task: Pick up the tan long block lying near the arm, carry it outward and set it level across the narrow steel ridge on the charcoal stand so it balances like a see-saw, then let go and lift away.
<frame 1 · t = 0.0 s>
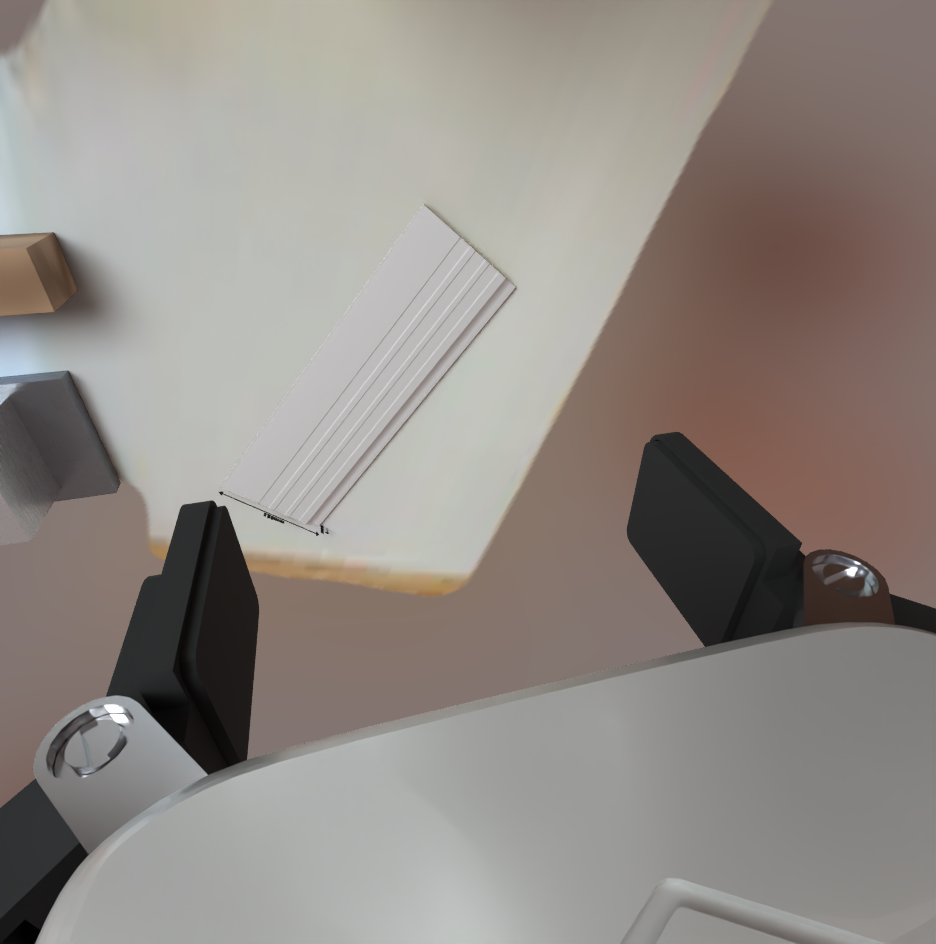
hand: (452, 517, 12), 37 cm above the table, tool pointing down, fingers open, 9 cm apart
ridge stand: (29, 438, 45), on the table
baseboard molding: (367, 388, 51), on the table
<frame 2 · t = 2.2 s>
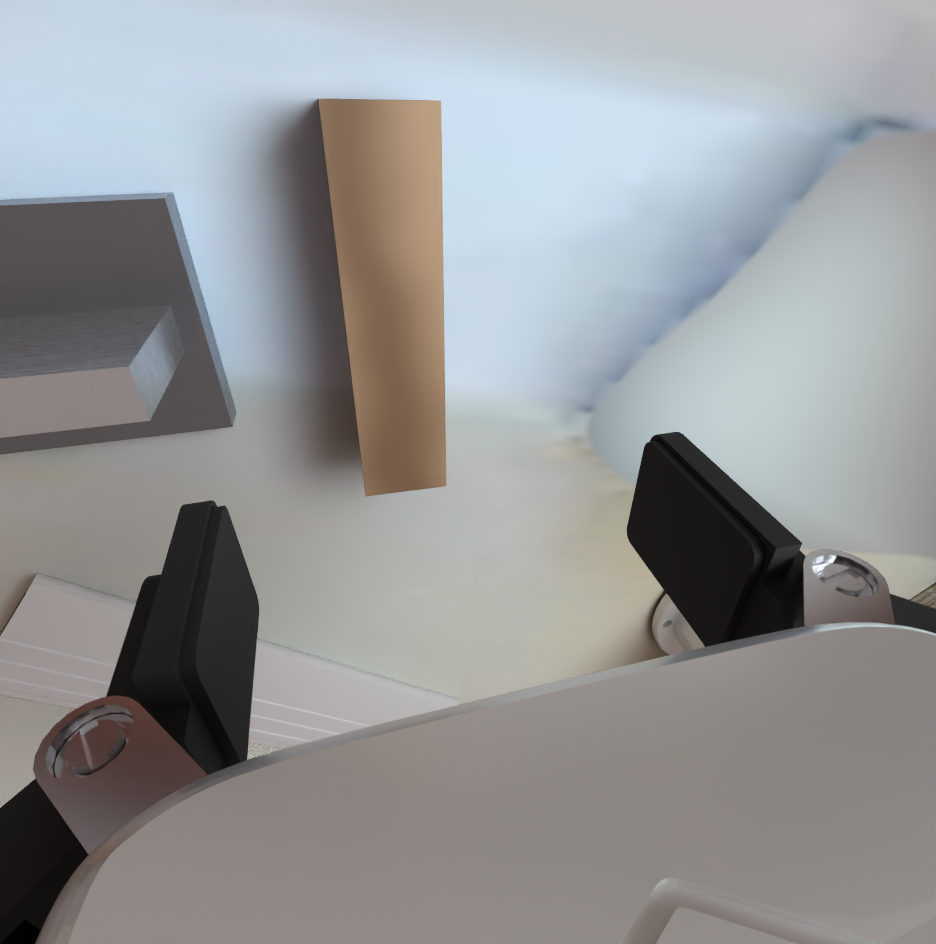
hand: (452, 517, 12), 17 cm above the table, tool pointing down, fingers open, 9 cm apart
coffee box: (931, 597, 56), on the table
tan long block: (384, 298, 26), on the table
ridge stand: (74, 326, 24), on the table
baseboard molding: (248, 687, 40), on the table
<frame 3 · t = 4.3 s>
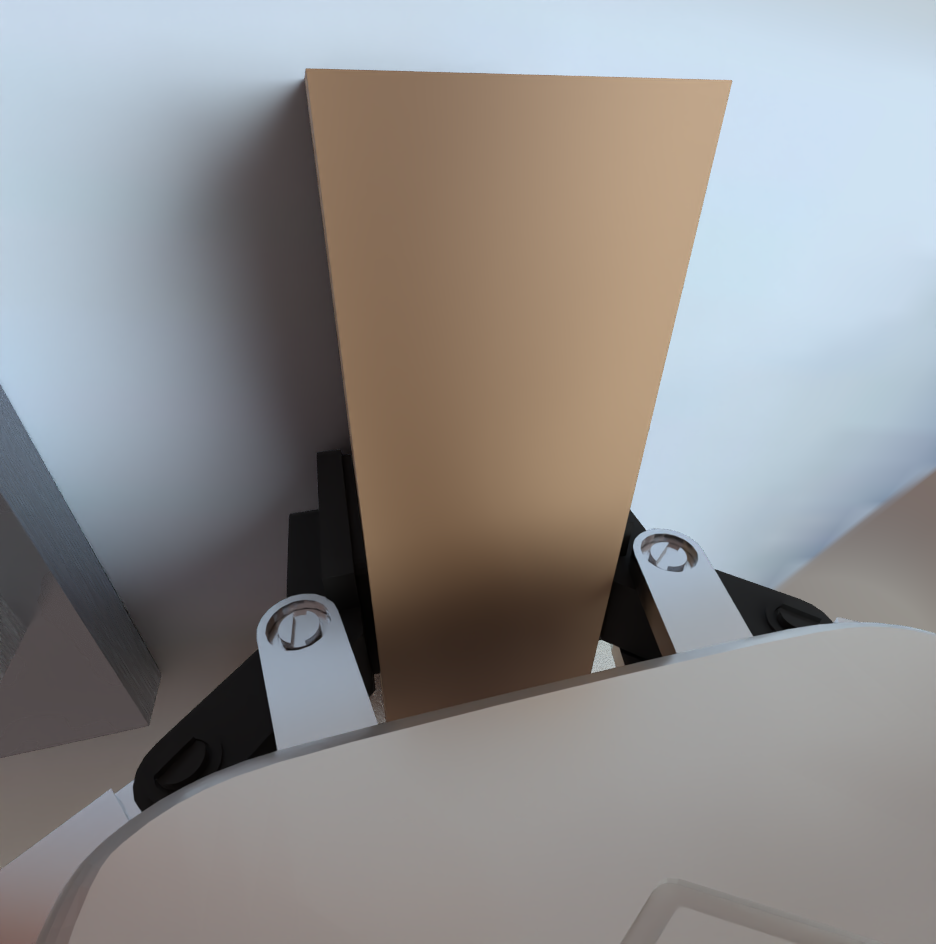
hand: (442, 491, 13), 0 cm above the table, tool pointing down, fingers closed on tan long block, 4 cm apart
tan long block: (438, 481, 13), on the table, touching gripper
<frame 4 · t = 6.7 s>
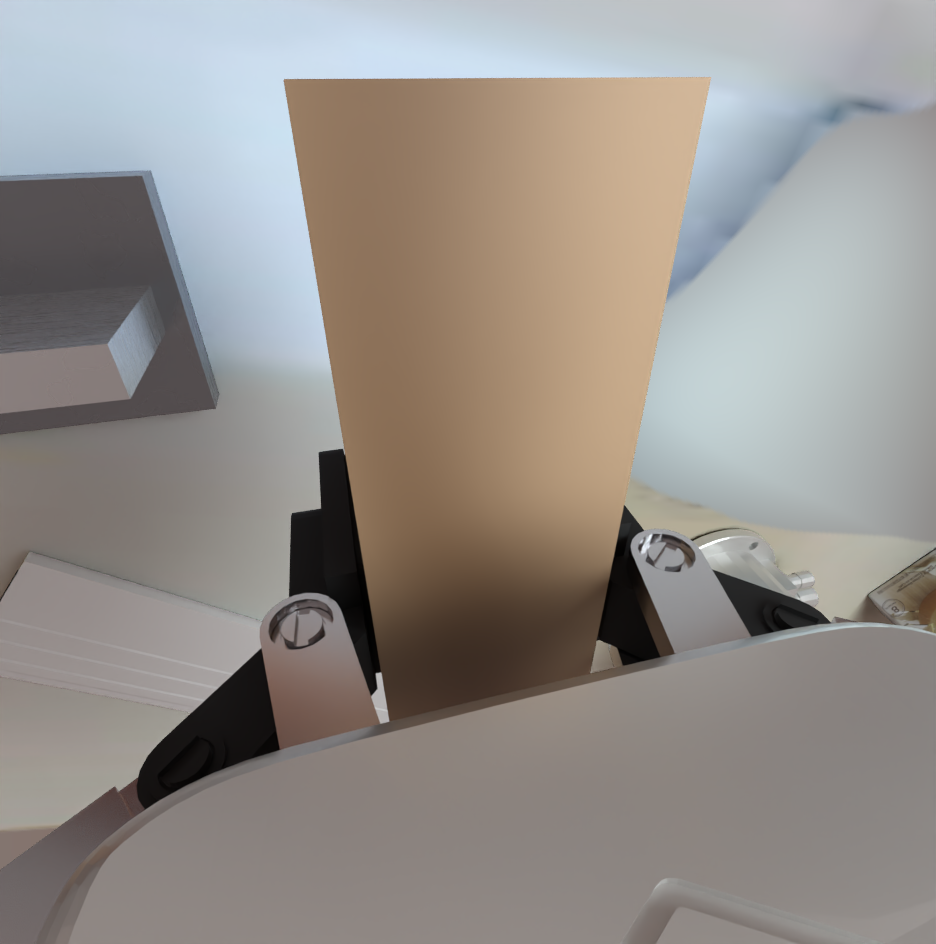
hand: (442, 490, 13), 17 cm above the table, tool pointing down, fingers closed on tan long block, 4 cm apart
coffee box: (909, 577, 57), on the table
tan long block: (438, 480, 13), point 16 cm above the table, touching gripper
ridge stand: (53, 306, 24), on the table
baseboard molding: (242, 667, 41), on the table
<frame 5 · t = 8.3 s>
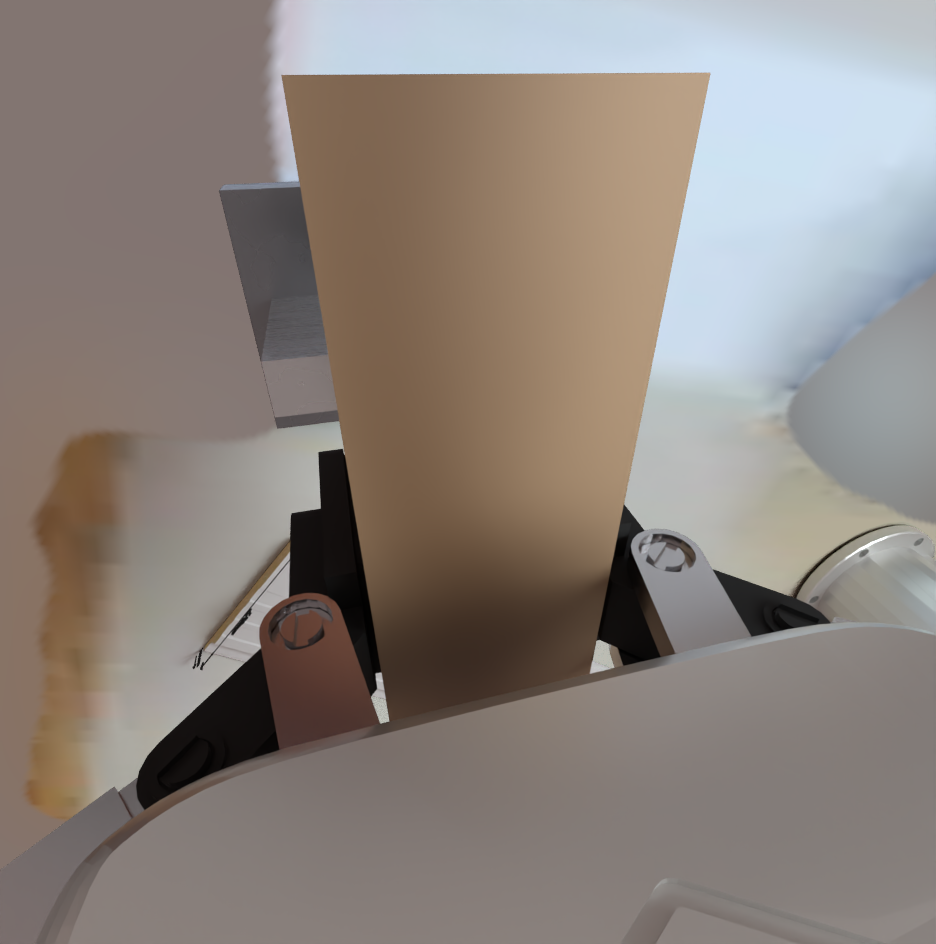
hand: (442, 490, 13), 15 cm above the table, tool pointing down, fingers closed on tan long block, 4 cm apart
tan long block: (438, 478, 13), point 14 cm above the table, touching gripper
ridge stand: (380, 302, 25), on the table
baseboard molding: (433, 655, 42), on the table
when the fingers open (10 cm above the table, at t = 9.4 s): tan long block drops 1 cm, resting on ridge stand.
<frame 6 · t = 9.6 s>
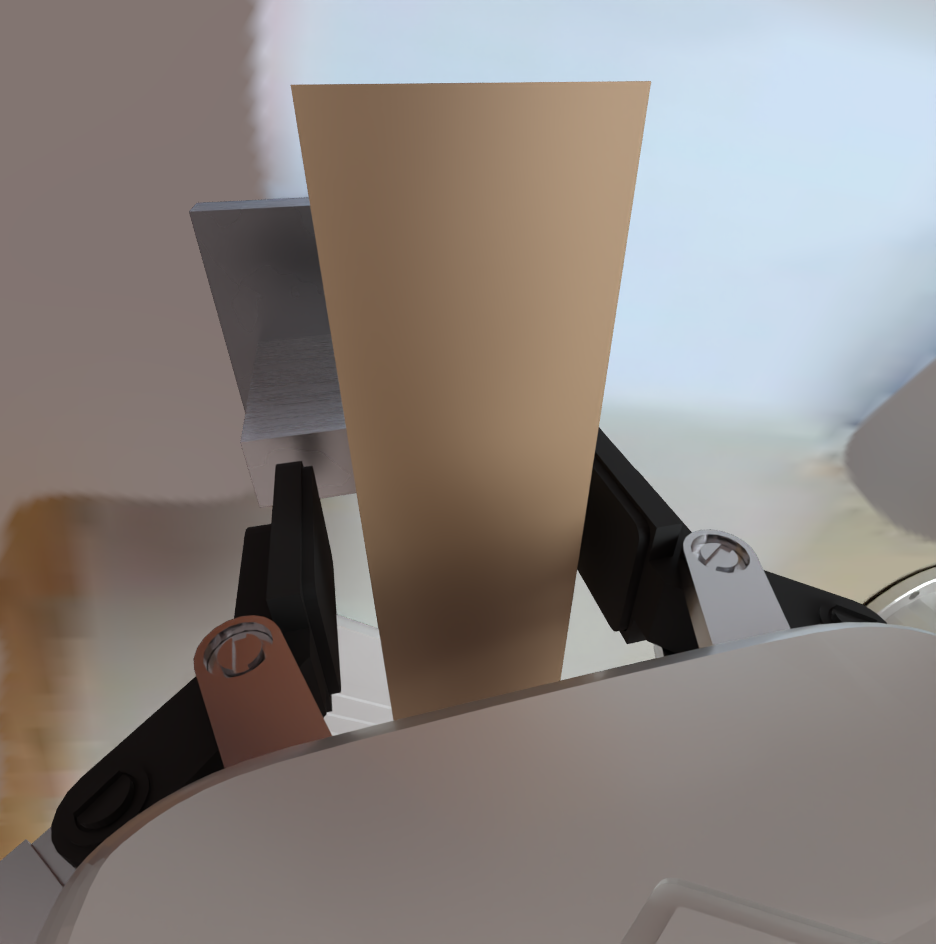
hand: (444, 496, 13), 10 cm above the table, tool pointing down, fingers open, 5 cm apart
tan long block: (431, 454, 14), point 8 cm above the table, touching ridge stand
ridge stand: (389, 339, 21), on the table
baseboard molding: (446, 712, 38), on the table
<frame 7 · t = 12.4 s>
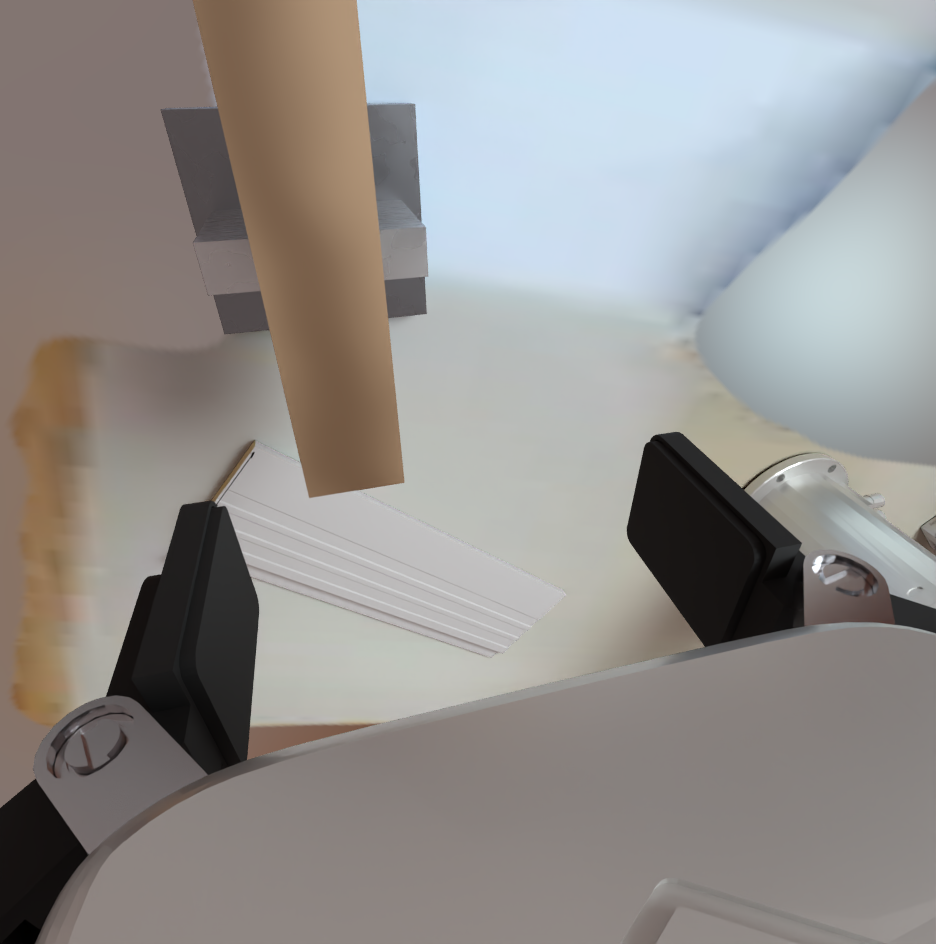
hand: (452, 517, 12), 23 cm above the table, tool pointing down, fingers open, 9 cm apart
tan long block: (320, 263, 22), point 8 cm above the table, touching ridge stand
ridge stand: (312, 220, 28), on the table
baseboard molding: (392, 569, 45), on the table
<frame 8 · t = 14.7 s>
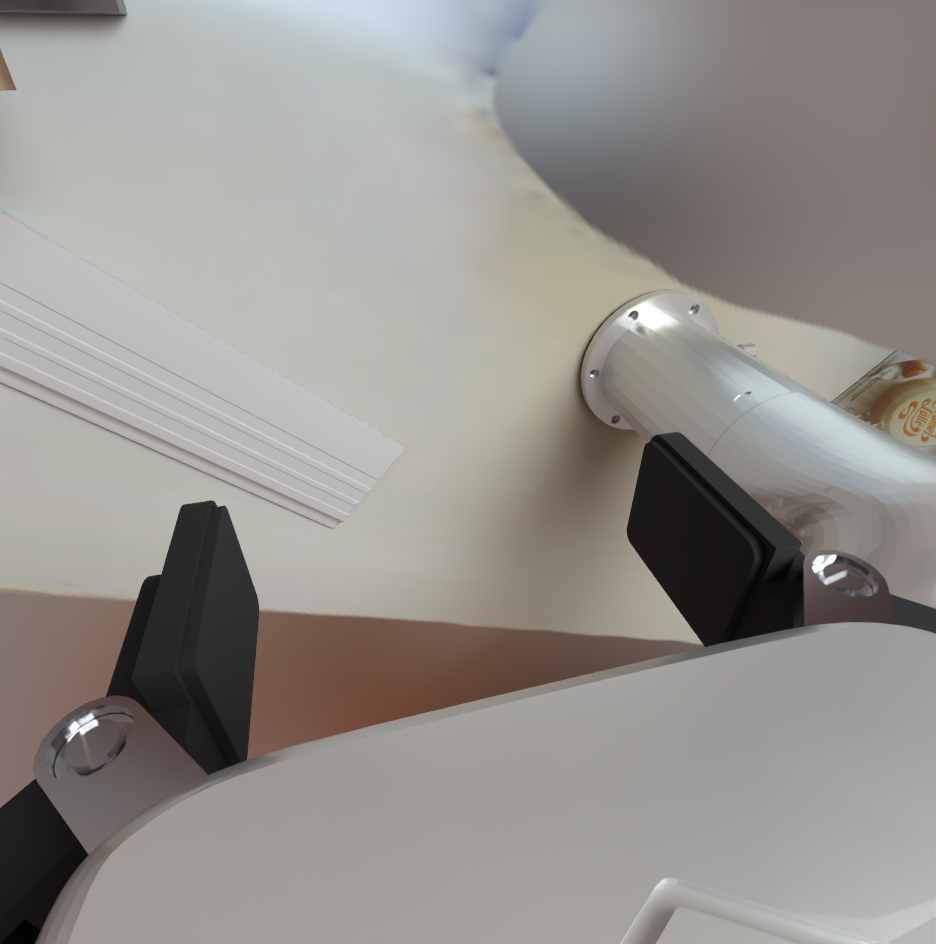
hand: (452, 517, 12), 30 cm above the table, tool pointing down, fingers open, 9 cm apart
coffee box: (865, 395, 57), on the table
baseboard molding: (189, 399, 41), on the table
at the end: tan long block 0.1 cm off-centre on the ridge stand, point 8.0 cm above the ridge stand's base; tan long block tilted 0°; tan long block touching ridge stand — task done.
